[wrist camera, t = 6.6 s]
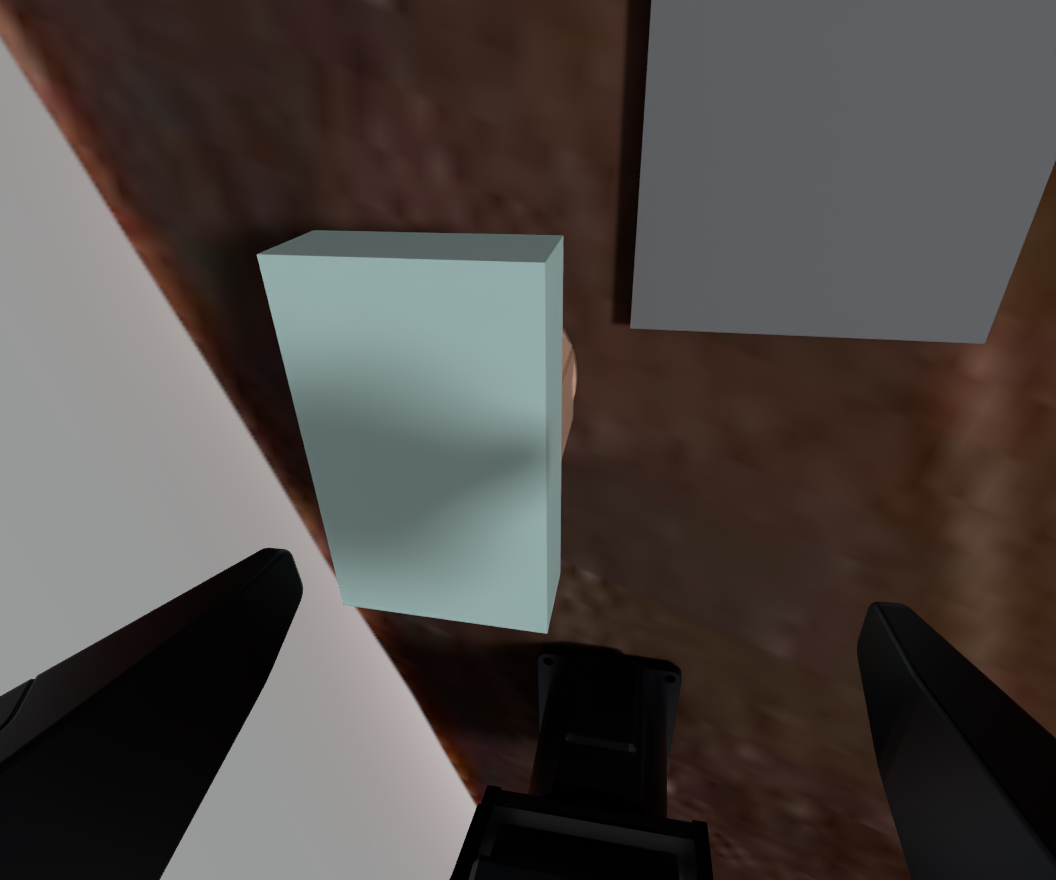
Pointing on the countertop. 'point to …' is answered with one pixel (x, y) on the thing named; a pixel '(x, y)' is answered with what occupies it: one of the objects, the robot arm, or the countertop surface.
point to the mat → (841, 164)
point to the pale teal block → (430, 414)
